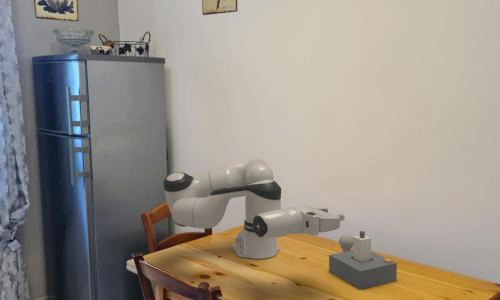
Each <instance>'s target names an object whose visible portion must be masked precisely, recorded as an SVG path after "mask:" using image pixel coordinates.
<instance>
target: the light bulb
mask: <svg viewBox="0 0 500 300" xmlns="http://www.w3.org/2000/svg"><path fill="white" fill-rule="evenodd" d="M353 237H354V236H352V235H351V234H348V233H344V234H341V236H340V237H339V239H338V243H339V246H340V248H341V250H342V252H346V251H351V250H352V248H353Z"/></svg>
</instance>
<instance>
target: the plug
mask: <svg viewBox="0 0 500 300" xmlns="http://www.w3.org/2000/svg"><path fill="white" fill-rule="evenodd" d="M352 237H353V247H352V248H353V249H352V250H353V259H354V260H356V261H358V262H360V263H363V262H367V261H371V251H372V238H371V237H369V236H367V235H366V232H365V230H364V231H362V230H361V231H360V230H359V235H356V236H355V235H354V236H352Z"/></svg>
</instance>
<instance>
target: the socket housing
mask: <svg viewBox="0 0 500 300" xmlns="http://www.w3.org/2000/svg"><path fill="white" fill-rule="evenodd" d="M328 259H329V260H328V272H329V273H331V274H332V275H335V276H336V277H338V278H339V279H341V280H343V281H345V282H346V283H348V284H349V285H351V286H353V287H355V288H356V289H357V290H365V289H369V288H373V287H376V286H380V285H385V284H389V283H392V282H397V278H398V277H397V275H398V274H397V273H398V270H397V269H398V268H397V267H398V263H397V261H396V262H395V261H393V260H391V259H389V258H386V257H385V256H382V255H379V254H378V253H376V252H373V251H372V250H371V261H367V262H363V263H360V262H358V261H356V260H354V259H353V249H351V251H346V252H343V251H342V252H341V251H340V252H338V253H331V254H329V256H328Z"/></svg>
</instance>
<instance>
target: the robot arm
mask: <svg viewBox="0 0 500 300" xmlns="http://www.w3.org/2000/svg"><path fill="white" fill-rule="evenodd" d="M163 190H164V194H165V198H166V199H165V201H166V203H167V206H168V209H169V211H170V214H171V219H172V220H173V222H174V224H175V225H177V226H179V227H183V228H185V227H189V228H195V229H212V228H215V227H216V226H218V225H219V224H220V223H221V221H222V220H223V218H224V216H225V214H226V211H227V207H228V205H229V202H230V201H231V199H232V198H233V199H234V198H241V197H245V202H244V205H245V206H244V207H245V219H244V221H243V228H242V229H241V230H240V231H239V232H238V233H237V235H236V236H237V237H235V242H234V243H232V244H231V248H232V249H233V250H234V252H235V253H236V254H237V257H239V258H249V259H254V260H261V259H268V258H272V257H275V256H276V255H277V253H278V252H279V251H280V247H279V246H278V241H277V238H280V237H281V238H282V237H285V236H287V235H299V234H301V235H304V234H306V235H311V236H318V235H320V233H327V232H332V231H336V230H338V229H340V227H341V222H342V221H344V220H345V215H344V214H337V215H334V214H331V213H329V209H328V208H325V207H322V208H320V207H319V208H317V207H314V206H311V205H308V204H304V205H299V206H292V207H288V208H286V209H282V207H281V206H282V205H281V203H282V201H281V199H282V188H281V186H280V184H278V182H277V181H275V180H274V172H273V171H272V169H271V167H270V166H269V164H267V162H266V161H264V160H262V159H259V158H254V159H250V160H246V161H243V162H239V163H236V164H232V165H230V166H223V167H219V168H214V169H211V170H209V169H208V170H205V171H201V172H199V173H195V174H192V175H190V174H188V173H186V172H182V171H176V172H173V173H169V174H168V175H167V176H166V177H164V179H163Z"/></svg>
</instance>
